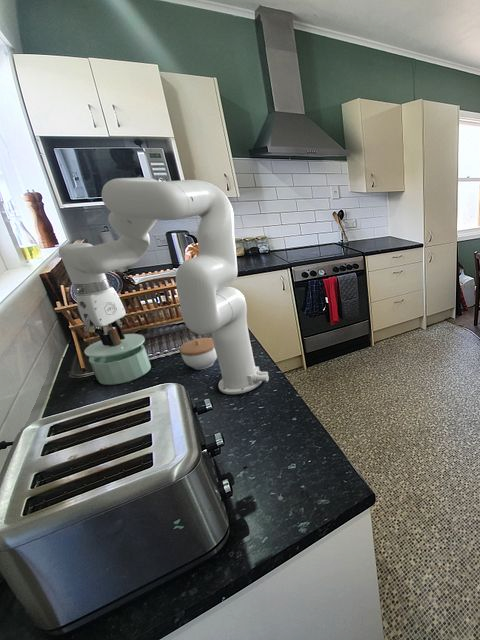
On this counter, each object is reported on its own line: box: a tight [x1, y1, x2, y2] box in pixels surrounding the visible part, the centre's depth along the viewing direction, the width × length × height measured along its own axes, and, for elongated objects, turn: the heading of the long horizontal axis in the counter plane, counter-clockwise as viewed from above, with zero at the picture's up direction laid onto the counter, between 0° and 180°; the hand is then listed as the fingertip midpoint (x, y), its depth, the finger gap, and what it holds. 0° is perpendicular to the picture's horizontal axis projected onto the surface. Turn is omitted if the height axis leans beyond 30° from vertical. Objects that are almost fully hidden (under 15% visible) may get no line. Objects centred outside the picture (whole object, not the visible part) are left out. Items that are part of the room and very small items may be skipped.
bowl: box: [88, 344, 152, 386], centre depth 112 cm, size 14×14×8 cm
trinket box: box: [178, 337, 218, 371], centre depth 117 cm, size 11×11×9 cm
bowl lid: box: [83, 326, 146, 358], centre depth 108 cm, size 15×15×7 cm
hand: (114, 341), depth 108 cm, fingers closed on bowl lid, 3 cm apart
